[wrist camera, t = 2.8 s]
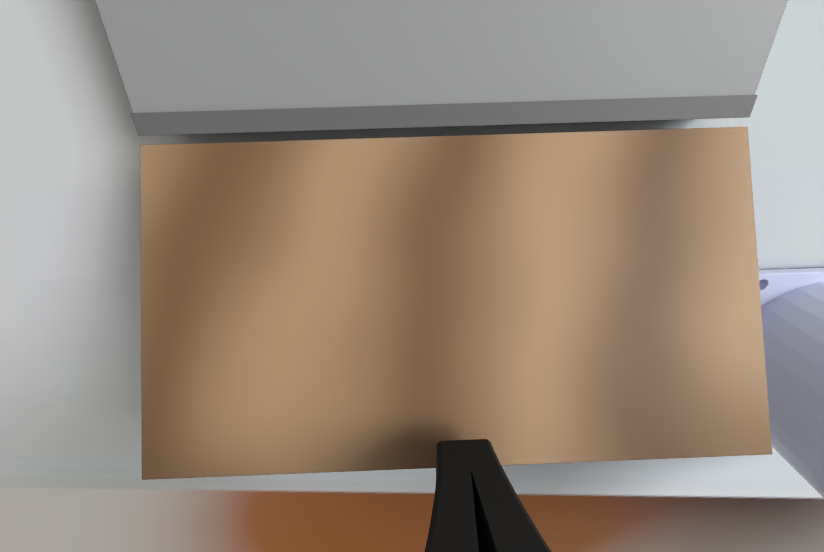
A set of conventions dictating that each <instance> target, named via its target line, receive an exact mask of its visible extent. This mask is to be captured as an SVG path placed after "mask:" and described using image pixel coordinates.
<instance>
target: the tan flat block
mask: <svg viewBox="0 0 824 552" xmlns="http://www.w3.org/2000/svg"><path fill="white" fill-rule="evenodd" d="M141 380H142V480H146V479H171V478H196V477H220V476H245V475H270V474H295V473H319V472H344V471H369V470H394V469H418V468H436V451H437V443H438V442H440V441H447V440H472V439H488V440H489V441H490V442H491V444H492V447H493V449H494V451H495V453H496V455H497V458H498V460H499V462H500V464H501V465H517V464H542V463H567V462H592V461H616V460H641V459H666V458H691V457H715V456H740V455H765V454H772V445H771V432H770V419H769V406H768V392H767V379H766V366H765V352H764V339H763V326H762V313H761V299H760V286H759V273H758V259H757V246H756V233H755V220H754V206H753V193H752V180H751V166H750V153H749V140H748V127H726V128H693V129H660V130H627V131H594V132H561V133H528V134H495V135H462V136H430V137H397V138H364V139H331V140H298V141H265V142H232V143H199V144H167V145H141Z"/></svg>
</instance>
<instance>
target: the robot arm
mask: <svg viewBox="0 0 824 552" xmlns="http://www.w3.org/2000/svg"><path fill="white" fill-rule="evenodd" d="M758 273H759V286H760V299H761V313H762V326H763V339H764V352H765V366H766V379H767V392H768V406H769V419H770V432H771V445H772V447H773V448H774V449H775V450H776V451H777V452H778V453H779V454H780V455H781V456H782V457H783V458H784V459H785V460H786V461H787V462H788V463H789V464H790V465H791V466H792V467H793V468H794V469H795V470H796V471H797V472H798V473H799V474H800V475H801V476H802V477H803V478H805V479H806V480H807V481H808V482H809V483H810V484H811V485H812V486H813V487H814V488H815V489H816V490H817V491H818V492H819V493H820V494H821V495H822V496H823V497H824V268H804V269H775V270H758ZM425 552H551V550H550V549H549V547H548V546H547V544H546V543H545V541H544V540H543V538H542V536H541V535H540V533H539V532H538V530H537V528H536V527H535V525H534V523H533V522H532V520H531V518H530V517H529V515H528V513H527V512H526V510H525V508H524V507H523V505H522V503H521V501H520V500H519V498H518V496H517V494H516V492H515V491H514V489H513V487H512V485H511V483H510V481H509V479H508V478H507V476H506V474H505V472H504V470H503V468H502V466H501V464H500V462H499V460H498V458H497V455H496V453H495V451H494V449H493V447H492V444H491V442H490V441H489V440H488V439H472V440H447V441H440V442H438V443H437V451H436V489H435V498H434V504H433V510H432V517H431V523H430V529H429V534H428V539H427V543H426V548H425Z"/></svg>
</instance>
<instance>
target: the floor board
mask: <svg viewBox="0 0 824 552" xmlns="http://www.w3.org/2000/svg"><path fill="white" fill-rule="evenodd" d="M95 1H96V4H97V7H98V10H99V13H100V16H101V19H102V22H103V25H104V28H105V31H106V34H107V36H108V39H109V42H110V45H111V48H112V51H113V54H114V57H115V60H116V63H117V66H118V69H119V72H120V75H121V78H122V81H123V84H124V87H125V90H126V93H127V96H128V99H129V102H130V105H131V108H132V111H133V113H131V115H132V118H133V121H134V124H135V127H136V130H137V133H138V136H145V135H178V134H212V133H245V132H278V131H311V130H344V129H378V128H411V127H444V126H477V125H510V124H544V123H577V122H610V121H643V120H676V119H710V118H743V117H750V114H751V112H752V109H753V106H754V103H755V100H756V98H757V95H755V92H756V89H757V87H758V84H759V81H760V78H761V75H762V72H763V70H764V67H765V64H766V61H767V58H768V55H769V53H770V50H771V47H772V44H773V41H774V38H775V35H776V33H777V30H778V27H779V24H780V21H781V18H782V16H783V13H784V10H785V7H786V4H787V1H788V0H95Z"/></svg>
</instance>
